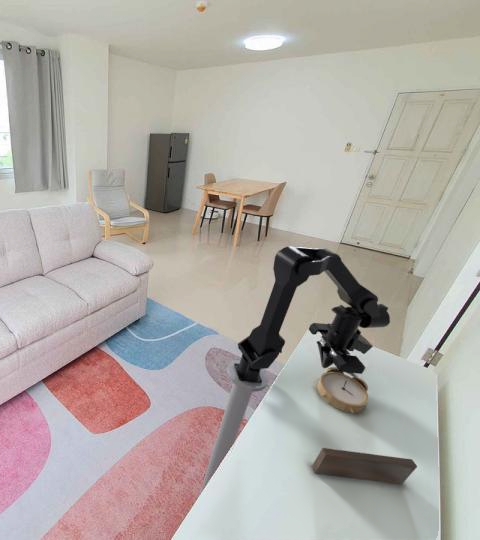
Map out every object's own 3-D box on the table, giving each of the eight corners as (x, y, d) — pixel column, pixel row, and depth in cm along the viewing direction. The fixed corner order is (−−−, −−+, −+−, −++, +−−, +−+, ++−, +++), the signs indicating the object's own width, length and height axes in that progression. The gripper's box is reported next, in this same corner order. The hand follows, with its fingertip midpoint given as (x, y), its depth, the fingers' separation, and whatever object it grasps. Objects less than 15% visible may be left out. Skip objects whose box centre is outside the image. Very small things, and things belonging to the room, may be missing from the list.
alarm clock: (315, 389, 82) (330, 355, 90) (310, 399, 85) (325, 365, 93) (364, 414, 75) (376, 376, 84) (357, 424, 78) (369, 386, 86)
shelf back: (311, 466, 66) (322, 447, 63) (396, 477, 65) (412, 459, 62) (314, 473, 65) (325, 454, 62) (401, 484, 63) (417, 466, 60)
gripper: (398, 352, 74) (371, 395, 81) (354, 310, 91) (334, 349, 98) (352, 348, 75) (329, 390, 82) (316, 307, 92) (300, 345, 99)
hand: (324, 367), depth 90 cm, fingers closed
